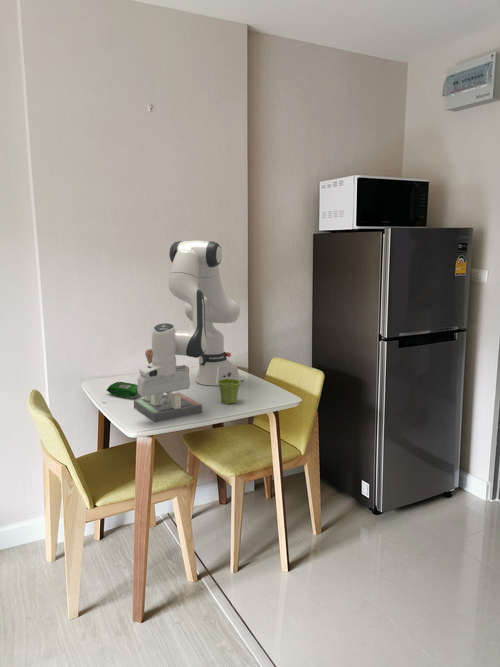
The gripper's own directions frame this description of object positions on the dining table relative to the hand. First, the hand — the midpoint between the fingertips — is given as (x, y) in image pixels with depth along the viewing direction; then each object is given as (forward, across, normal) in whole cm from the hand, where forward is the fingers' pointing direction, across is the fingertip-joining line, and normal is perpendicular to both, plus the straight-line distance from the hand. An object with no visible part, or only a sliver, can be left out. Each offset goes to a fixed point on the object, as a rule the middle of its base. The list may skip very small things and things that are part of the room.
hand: (164, 403), depth 198 cm
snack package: (+6, +3, -32) cm, 33 cm away
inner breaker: (+2, 0, -14) cm, 14 cm away
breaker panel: (+6, -4, -7) cm, 10 cm away
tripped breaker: (+2, -5, 0) cm, 5 cm away
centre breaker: (+2, 0, -7) cm, 7 cm away
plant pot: (+6, -30, -3) cm, 31 cm away
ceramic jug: (+6, -19, -46) cm, 50 cm away
